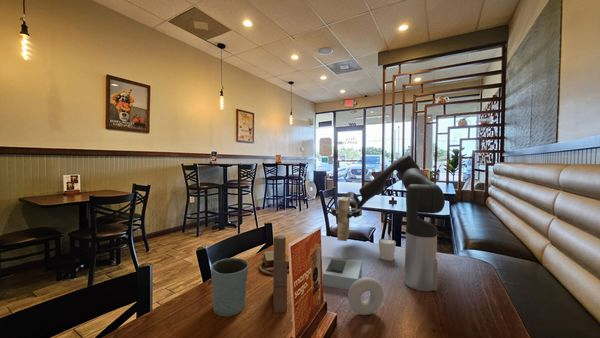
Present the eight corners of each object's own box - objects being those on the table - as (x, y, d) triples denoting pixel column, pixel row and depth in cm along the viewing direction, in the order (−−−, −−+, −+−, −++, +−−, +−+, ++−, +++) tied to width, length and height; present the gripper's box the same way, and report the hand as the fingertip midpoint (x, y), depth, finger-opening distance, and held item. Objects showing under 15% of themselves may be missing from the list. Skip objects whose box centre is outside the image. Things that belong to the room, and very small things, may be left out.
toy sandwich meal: (259, 277, 88) (259, 264, 88) (259, 261, 101) (259, 250, 101) (294, 275, 90) (294, 262, 90) (290, 259, 103) (290, 248, 103)
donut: (350, 320, 65) (351, 283, 64) (345, 312, 68) (345, 276, 68) (385, 315, 67) (386, 278, 67) (378, 307, 70) (379, 272, 70)
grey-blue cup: (218, 296, 76) (218, 257, 75) (252, 297, 75) (252, 257, 75) (205, 318, 65) (204, 273, 65) (243, 319, 65) (243, 273, 65)
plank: (349, 235, 106) (349, 197, 105) (346, 241, 98) (347, 200, 98) (340, 234, 107) (341, 196, 106) (337, 240, 99) (338, 200, 99)
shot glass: (377, 254, 109) (377, 238, 109) (393, 254, 108) (393, 238, 108) (379, 260, 103) (380, 243, 102) (397, 261, 102) (397, 244, 101)
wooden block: (273, 313, 68) (273, 247, 67) (273, 291, 78) (273, 234, 77) (287, 312, 68) (287, 247, 67) (284, 291, 79) (285, 234, 78)
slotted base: (361, 271, 92) (361, 260, 92) (357, 291, 79) (357, 279, 79) (319, 265, 97) (319, 255, 97) (308, 283, 84) (308, 271, 84)
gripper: (333, 198, 118) (325, 205, 102) (364, 200, 113) (361, 207, 97) (333, 214, 118) (325, 223, 102) (364, 217, 114) (360, 227, 97)
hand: (342, 216), depth 100 cm, fingers closed on plank, 3 cm apart
